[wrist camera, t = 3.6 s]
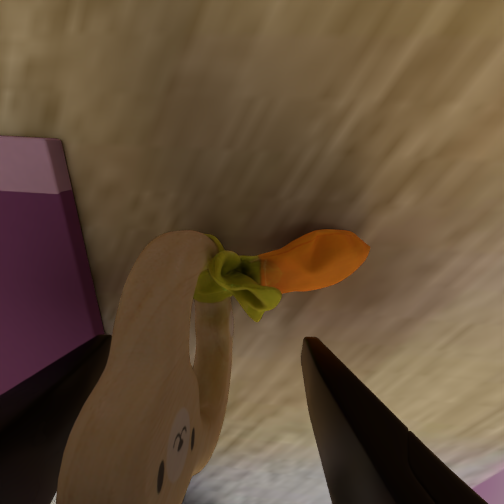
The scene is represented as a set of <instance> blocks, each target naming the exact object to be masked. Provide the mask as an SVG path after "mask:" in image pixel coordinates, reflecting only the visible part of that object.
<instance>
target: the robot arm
mask: <svg viewBox="0 0 504 504" xmlns="http://www.w3.org/2000/svg"><path fill="white" fill-rule="evenodd" d="M111 341H112V335H104V334H100V335H96V336H95V337H93V338H91V339H90V340H88V341H87V342H85V343H83V344H82V345H80V346H79V347H77V348H75V349H74V350H72V351H71V352H69V353H67V354H66V355H64V356H62V357H61V358H59V359H58V360H56V361H54V362H53V363H51V364H50V365H48V366H46V367H45V368H43V369H42V370H40V371H38V372H37V373H35V374H34V375H32V376H30V377H29V378H27V379H25V380H24V381H22V382H21V383H19V384H17V385H16V386H14V387H13V388H11V389H9V390H8V391H6V392H5V393H3V394H1V395H0V504H50V503H51V501H52V499H53V497H54V495H55V493H56V491H57V486H58V477H59V473H60V468H61V463H62V458H63V454H64V450H65V447H66V444H67V441H68V438H69V435H70V433H71V430H72V428H73V426H74V423H75V421H76V419H77V417H78V415H79V413H80V411H81V409H82V407H83V405H84V403H85V402H86V400H87V399H88V397H89V395H90V394H91V392H92V391H93V389H94V388H95V386H96V384H97V383H98V381H99V379H100V377H101V375H102V373H103V372H104V370H105V367H106V364H107V361H108V357H109V354H110V347H111ZM301 365H302V371H303V378H304V385H305V392H306V398H307V405H308V411H309V415H310V420H311V423H312V427H313V431H314V435H315V439H316V443H317V447H318V451H319V455H320V458H321V462H322V466H323V470H324V474H325V478H326V482H327V486H328V489H329V493H330V497H331V501H332V504H488V503H487V502H486V501H485V500H484V499H482V498H481V497H480V496H479V495H478V494H477V493H476V492H475V491H473V490H472V489H471V488H470V487H469V486H468V485H467V484H466V483H465V482H464V481H462V480H461V479H460V478H459V477H458V476H457V475H456V474H455V473H454V472H452V471H451V470H450V469H449V468H448V467H447V466H446V465H445V464H444V463H443V462H442V461H441V460H440V459H439V458H438V457H437V456H436V455H435V454H434V453H433V452H432V451H431V450H429V449H428V448H427V447H426V446H425V445H424V444H423V443H422V442H421V441H420V440H419V439H418V438H417V437H416V436H415V435H414V434H413V433H412V432H411V431H408V428H407V427H406V426H405V425H404V424H403V423H402V422H401V421H400V420H399V419H398V418H397V417H396V416H395V415H394V414H393V413H392V412H391V411H390V410H389V409H388V408H387V407H386V406H385V405H384V404H383V403H382V402H381V401H380V400H379V399H378V398H377V397H376V396H375V395H374V394H373V393H372V392H371V391H370V390H369V389H368V388H367V387H366V386H365V385H364V384H363V383H362V382H361V381H360V380H359V379H358V378H357V377H356V376H355V375H354V374H353V373H352V372H351V371H350V370H349V369H348V368H347V367H346V366H345V365H344V364H343V363H342V362H341V361H340V360H339V359H338V358H337V357H336V356H335V355H334V354H333V353H332V352H331V351H330V350H329V349H328V348H327V347H326V346H325V345H324V344H323V343H322V342H321V341H320V340H319V339H318V338H317V337H305V338H304V339H303V345H302V352H301Z"/></svg>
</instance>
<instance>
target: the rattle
mask: <svg viewBox="0 0 504 504" xmlns="http://www.w3.org/2000/svg"><path fill="white" fill-rule="evenodd" d="M370 248H371V247H370V246H368V245H367V244H366V243H365V242H364V241H362V240H361V239H360V238H359V237H358V236H357V235H356V234H354V233H353V232H350V231H347V230H336V229H320V230H315V231H312V232H310V233H307V234H305V235H303V236H301V237H299V238H297V239H295V240H294V241H292V242H290V243H289V244H287V245H286V246H284V247H282V248H281V249H277V250H273V251H271V252H267V253H263V254H260V255H256V256H245V255H242V256H238V255H237V254H236V253H235V252H233V251H225V250H224V248H223V246H222V244H221V243H220V241H219V240H218V239H217V238H216V237H215V236H214V235H210V234H202V233H200V232H198V231H192V230H181V231H172V232H167V233H164V234H161V235H159V236H158V237H156V238H155V239H153V240H152V241H151V242H150V243H149V244H148V245H147V246H146V247H145V249H144V250H143V251H142V252H141V254H140V255H139V257H138V259H137V260H136V262H135V264H134V265H133V267H132V269H131V271H130V273H129V276H128V278H127V280H126V283H125V285H124V288H123V291H122V294H121V298H120V301H119V305H118V310H117V314H116V318H115V323H114V328H113V334H112V341H111V347H110V354H109V357H108V361H107V364H106V367H105V370H104V372H103V373H102V375H101V377H100V379H99V381H98V383H97V384H96V386H95V388H94V389H93V391H92V392H91V394H90V395H89V397H88V399H87V400H86V402H85V403H84V405H83V407H82V409H81V411H80V413H79V415H78V417H77V419H76V421H75V423H74V426H73V428H72V430H71V433H70V435H69V438H68V441H67V444H66V447H65V450H64V454H63V458H62V463H61V468H60V473H59V477H58V486H57V496H56V504H182V501H183V499H184V496H185V493H186V491H187V488H188V485H189V483H190V480H191V477H192V476H193V475H195V474H197V473H199V472H200V471H201V470H202V469H203V468H204V467H205V465H206V464H207V463H208V461H209V459H210V458H211V456H212V453H213V451H214V449H215V447H216V444H217V441H218V438H219V435H220V432H221V428H222V424H223V421H224V416H225V411H226V406H227V401H228V394H229V387H230V377H231V365H232V343H233V333H234V317H233V311H232V306H231V298H230V296H234V297H235V298H236V300H237V301H238V302H239V304H240V305H241V306H242V308H243V309H244V311H245V312H246V313H247V315H248V316H249V317H250V318H252V319H253V320H254V321H255V322H259V321H260V319H261V318H262V315H263V313H264V312H265V311H269V310H272V309H274V308H275V307H276V306H277V305H278V303H279V302H280V300H281V298H282V293H288V292H293V291H310V290H316V289H320V288H324V287H328V286H331V285H334V284H336V283H338V282H340V281H342V280H344V279H345V278H347V277H348V276H349V275H351V274H352V273H353V272H354V271H356V270H357V269H358V268H359V267H360V266H361V265H362V263H363V262H364V261H365V260H366V258H367V256H368V254H369V251H370ZM193 299H194V302H195V331H196V354H195V360H194V365H193V368H192V365H191V363H190V357H189V330H190V318H191V307H192V301H193Z"/></svg>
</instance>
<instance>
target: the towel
mask: <svg viewBox="0 0 504 504" xmlns="http://www.w3.org/2000/svg"><path fill="white" fill-rule="evenodd" d="M100 334H104V335H105V333H104V329H103V324H102V320H101V316H100V311H99V307H98V302H97V298H96V293H95V289H94V285H93V280H92V276H91V271H90V267H89V262H88V258H87V254H86V249H85V245H84V240H83V236H82V231H81V227H80V223H79V218H78V214H77V209H76V205H75V200H74V196H73V192H72V187H71V183H70V178H69V174H68V169H67V165H66V161H65V156H64V152H63V147H62V143H61V140H59V139H55V138H37V137H19V136H1V135H0V395H1V394H3V393H5V392H6V391H8V390H9V389H11V388H13V387H14V386H16V385H17V384H19V383H21V382H22V381H24V380H25V379H27V378H29V377H30V376H32V375H34V374H35V373H37V372H38V371H40V370H42V369H43V368H45V367H46V366H48V365H50V364H51V363H53V362H54V361H56V360H58V359H59V358H61V357H62V356H64V355H66V354H67V353H69V352H71V351H72V350H74V349H75V348H77V347H79V346H80V345H82V344H83V343H85V342H87V341H88V340H90V339H91V338H93V337H95V336H96V335H100Z"/></svg>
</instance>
